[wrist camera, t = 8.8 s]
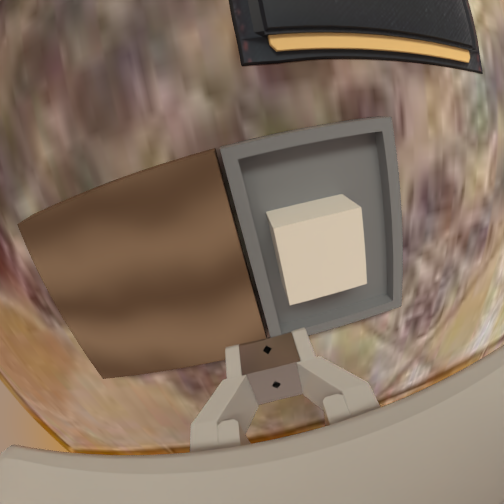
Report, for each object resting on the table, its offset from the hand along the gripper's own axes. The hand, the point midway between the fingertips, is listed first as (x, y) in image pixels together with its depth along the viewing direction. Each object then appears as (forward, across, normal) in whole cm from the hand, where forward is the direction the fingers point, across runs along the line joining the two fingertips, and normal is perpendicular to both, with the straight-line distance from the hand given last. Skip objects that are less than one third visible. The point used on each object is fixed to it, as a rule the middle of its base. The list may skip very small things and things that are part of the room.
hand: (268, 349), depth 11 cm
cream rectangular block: (+9, -4, +1) cm, 10 cm away
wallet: (+11, -13, -17) cm, 24 cm away
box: (+10, -5, +1) cm, 11 cm away
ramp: (+10, +7, +1) cm, 12 cm away
